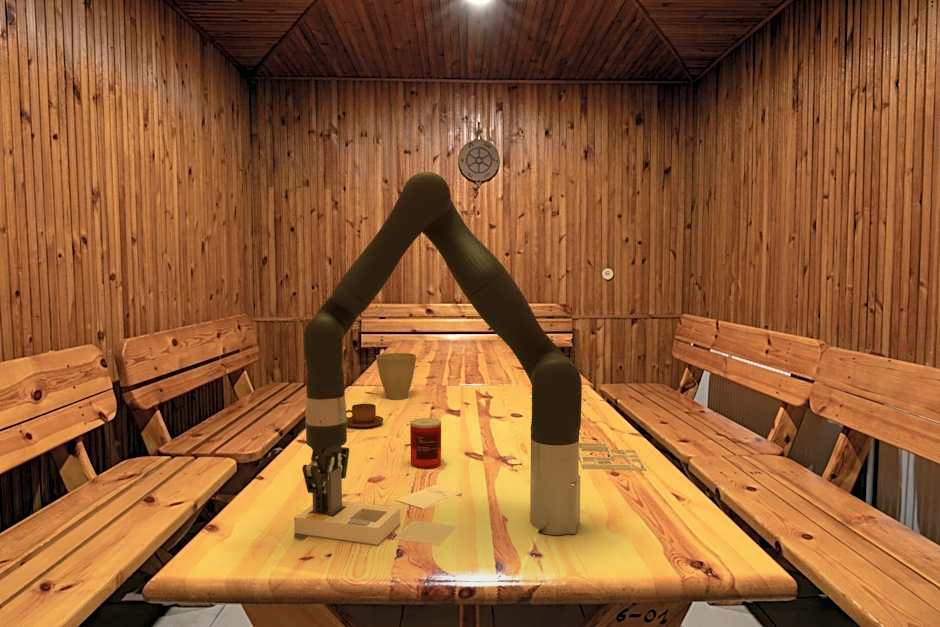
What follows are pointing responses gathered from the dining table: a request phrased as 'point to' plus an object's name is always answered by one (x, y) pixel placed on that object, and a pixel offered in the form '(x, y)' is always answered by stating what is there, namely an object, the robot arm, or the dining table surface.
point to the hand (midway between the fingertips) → (327, 507)
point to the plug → (332, 493)
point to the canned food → (425, 443)
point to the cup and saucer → (363, 416)
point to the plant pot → (396, 373)
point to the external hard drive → (429, 496)
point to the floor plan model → (608, 458)
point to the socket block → (349, 523)
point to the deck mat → (425, 532)
